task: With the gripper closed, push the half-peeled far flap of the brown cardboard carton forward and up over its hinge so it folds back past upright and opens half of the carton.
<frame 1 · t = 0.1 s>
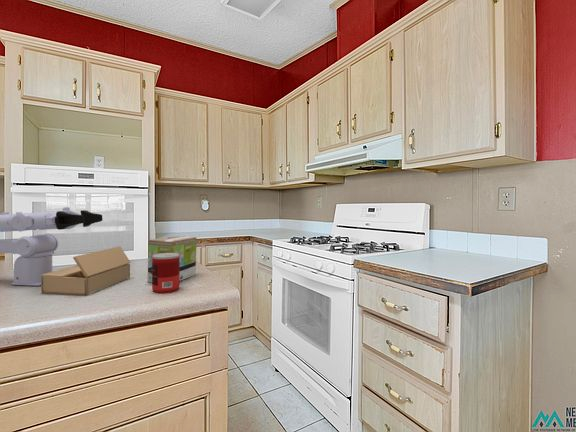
hand: (93, 218, 93), 22 cm above the worktop, tool horizontal, fingers open, 7 cm apart
canned food: (166, 290, 91), on the worktop
flap: (104, 260, 94), point 8 cm above the worktop, hinge at 55.0°
tea box: (173, 279, 105), on the worktop
carton: (90, 285, 94), on the worktop
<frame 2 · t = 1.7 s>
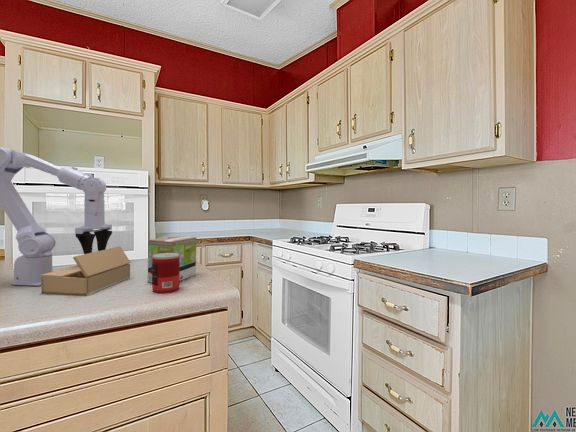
hand: (94, 252, 100), 9 cm above the worktop, tool pointing down, fingers open, 6 cm apart
nothing on the worktop moved.
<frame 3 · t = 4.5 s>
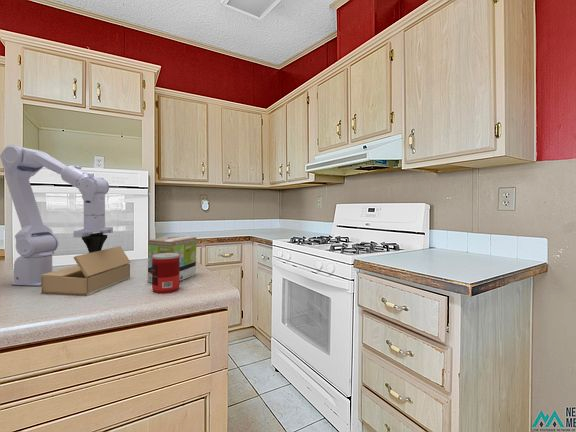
hand: (94, 257, 94), 9 cm above the worktop, tool pointing down, fingers closed, pressing on flap
flap: (104, 260, 94), point 8 cm above the worktop, hinge at 56.3°, touching gripper
everything else where it was.
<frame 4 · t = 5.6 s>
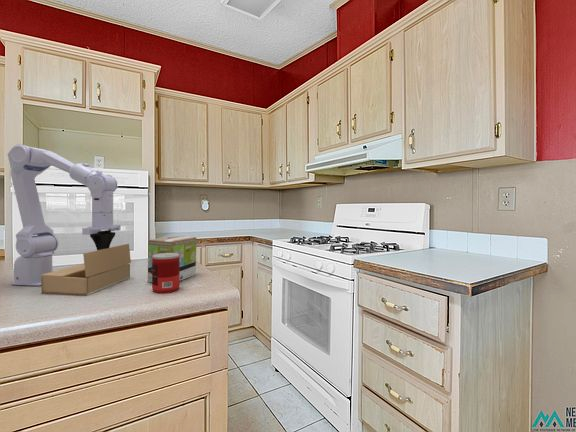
hand: (102, 254, 94), 10 cm above the worktop, tool pointing down, fingers closed, pressing on flap
flap: (109, 258, 93), point 9 cm above the worktop, hinge at 84.5°, touching gripper
everything else where it was.
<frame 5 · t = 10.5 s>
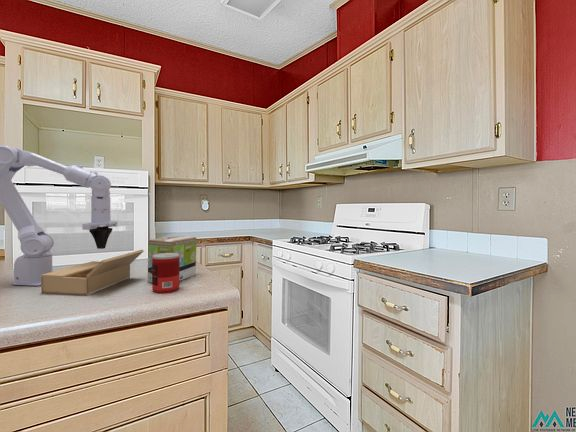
hand: (101, 248, 103), 10 cm above the worktop, tool pointing down, fingers closed
flap: (117, 262, 93), point 8 cm above the worktop, hinge at 136.5°
everything else where it was.
at the end: flap at +136° (first picture: +55°); tea box moved 0.3 cm from its start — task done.
